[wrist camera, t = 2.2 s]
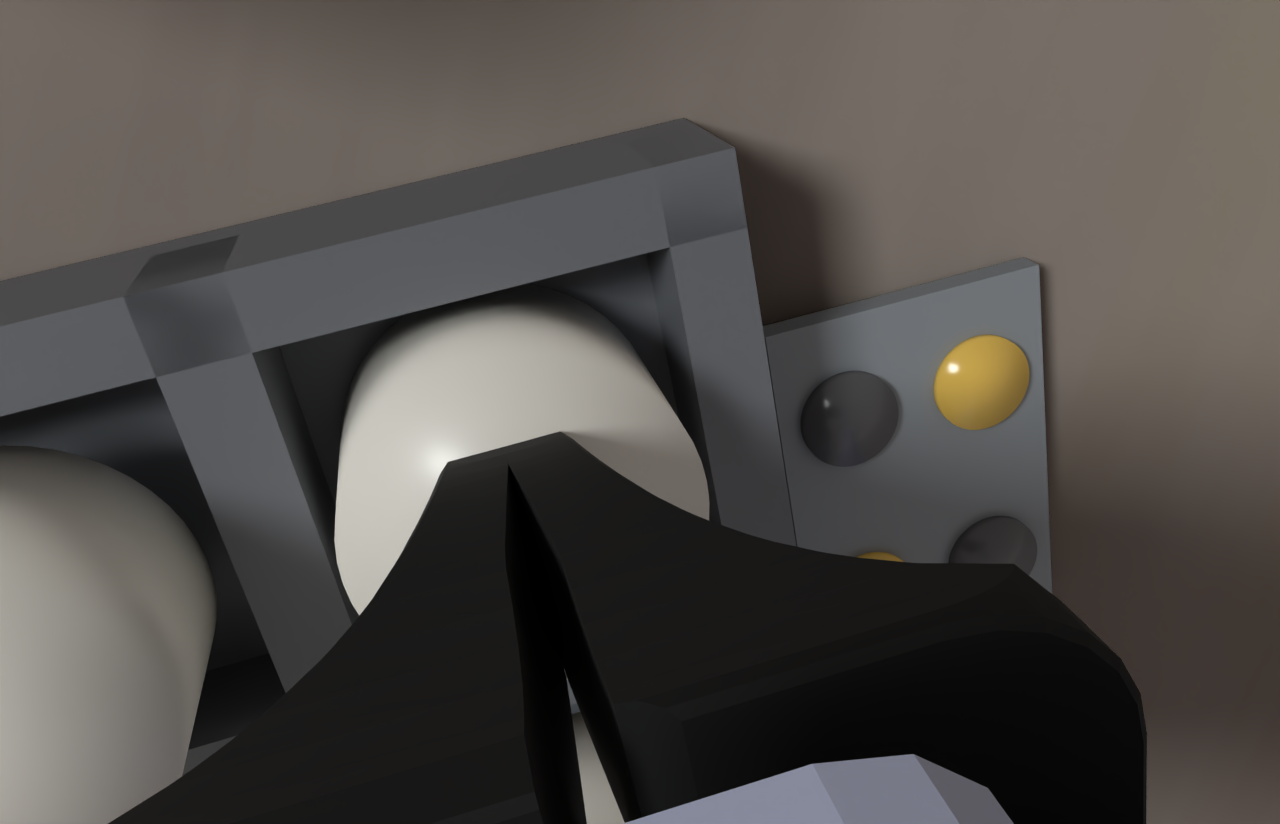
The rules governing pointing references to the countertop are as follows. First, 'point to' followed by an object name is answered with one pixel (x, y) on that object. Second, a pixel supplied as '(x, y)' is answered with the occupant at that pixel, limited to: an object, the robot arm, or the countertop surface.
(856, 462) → the tile
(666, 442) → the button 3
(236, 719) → the tray
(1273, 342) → the countertop surface
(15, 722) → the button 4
